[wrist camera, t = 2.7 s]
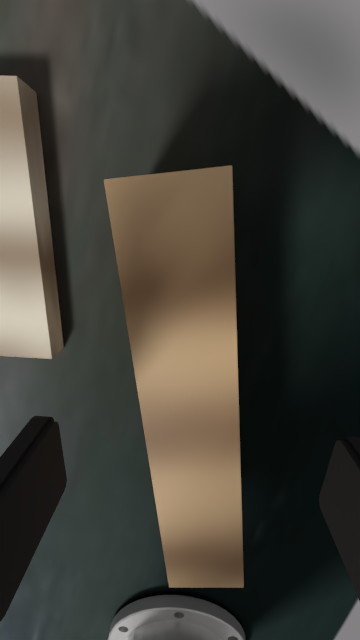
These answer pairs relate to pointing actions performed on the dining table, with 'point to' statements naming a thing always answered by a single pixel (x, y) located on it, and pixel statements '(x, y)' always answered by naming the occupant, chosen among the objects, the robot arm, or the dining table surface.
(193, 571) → the oak beam
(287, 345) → the dining table surface
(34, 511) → the robot arm
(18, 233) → the ridge stand
